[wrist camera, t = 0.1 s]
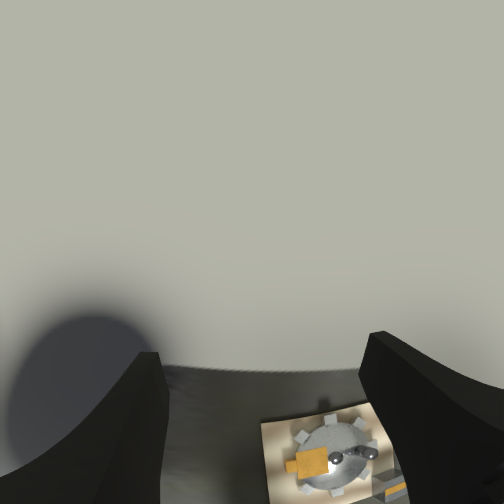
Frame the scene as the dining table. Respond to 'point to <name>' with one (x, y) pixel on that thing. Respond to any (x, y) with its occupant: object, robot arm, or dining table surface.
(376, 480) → the link block
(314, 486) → the sprocket
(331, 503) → the base board
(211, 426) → the dining table surface
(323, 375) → the dining table surface
